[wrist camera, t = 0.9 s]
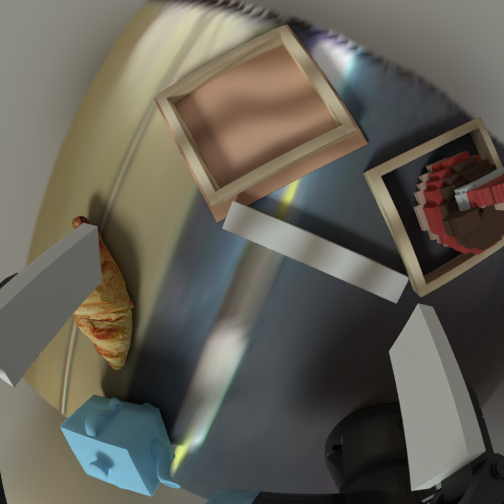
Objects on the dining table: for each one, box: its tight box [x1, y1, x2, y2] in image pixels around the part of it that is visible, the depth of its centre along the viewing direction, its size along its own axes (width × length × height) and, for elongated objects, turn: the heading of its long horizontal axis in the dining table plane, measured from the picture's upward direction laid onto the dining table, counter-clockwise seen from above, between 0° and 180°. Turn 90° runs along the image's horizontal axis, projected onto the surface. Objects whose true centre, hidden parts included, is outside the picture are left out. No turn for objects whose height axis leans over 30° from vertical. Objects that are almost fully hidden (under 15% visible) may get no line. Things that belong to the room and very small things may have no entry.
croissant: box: [72, 216, 134, 370], centre depth 35 cm, size 21×10×8 cm, turn 11°
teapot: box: [60, 395, 180, 496], centre depth 33 cm, size 18×16×13 cm
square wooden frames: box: [154, 24, 504, 304], centre depth 28 cm, size 34×32×3 cm
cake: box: [413, 151, 504, 255], centre depth 19 cm, size 11×9×18 cm
